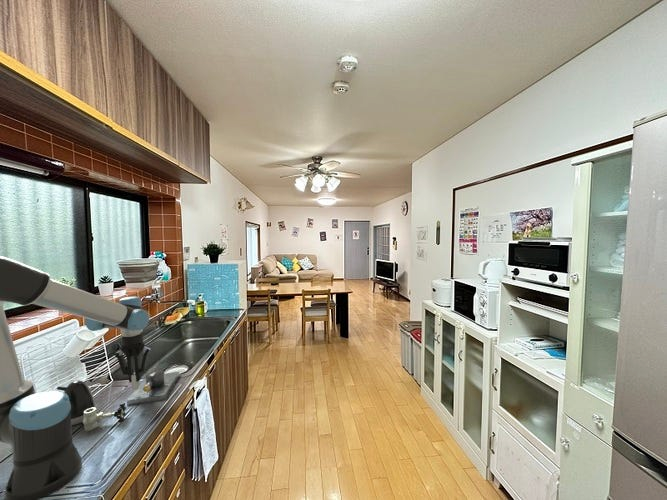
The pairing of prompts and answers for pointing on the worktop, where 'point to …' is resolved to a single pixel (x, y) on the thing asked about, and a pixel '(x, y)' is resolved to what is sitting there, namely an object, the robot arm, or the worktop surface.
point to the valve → (101, 416)
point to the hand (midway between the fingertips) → (135, 388)
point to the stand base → (153, 390)
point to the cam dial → (153, 379)
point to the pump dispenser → (78, 400)
